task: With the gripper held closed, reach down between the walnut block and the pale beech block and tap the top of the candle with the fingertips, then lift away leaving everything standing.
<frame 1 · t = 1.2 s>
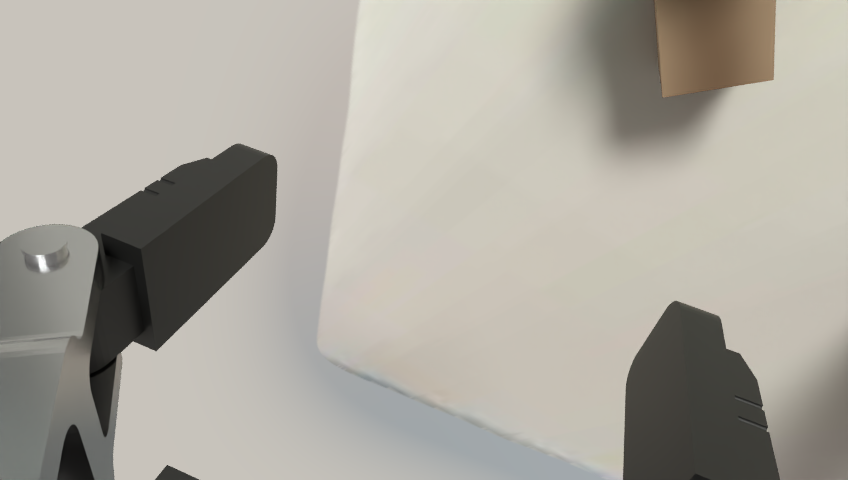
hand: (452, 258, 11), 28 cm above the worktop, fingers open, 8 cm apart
walnut block: (702, 14, 31), on the worktop
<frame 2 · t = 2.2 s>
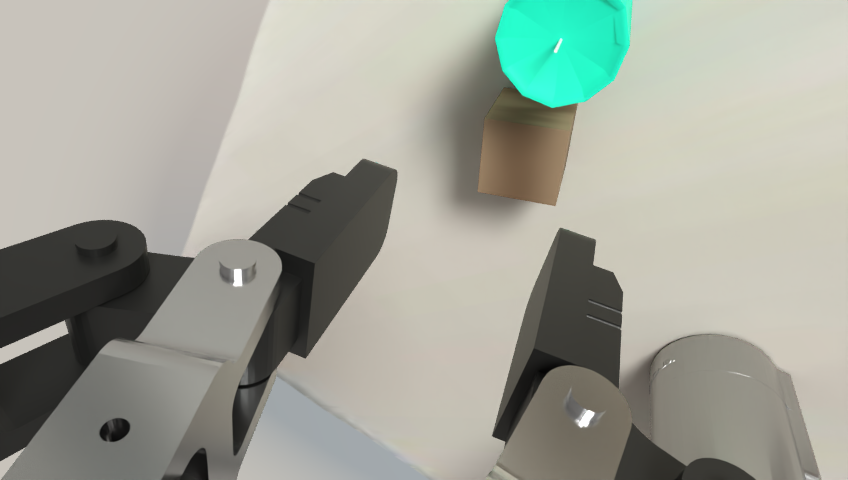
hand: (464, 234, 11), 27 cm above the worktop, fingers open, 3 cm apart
candle: (580, 0, 33), on the worktop
walnut block: (535, 127, 38), on the worktop
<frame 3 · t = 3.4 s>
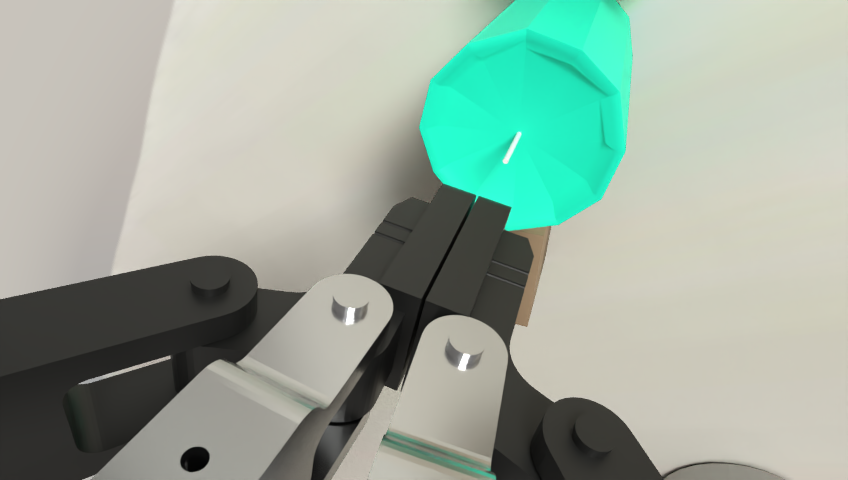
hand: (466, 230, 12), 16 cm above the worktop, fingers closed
candle: (561, 49, 24), on the worktop
walnut block: (505, 207, 29), on the worktop
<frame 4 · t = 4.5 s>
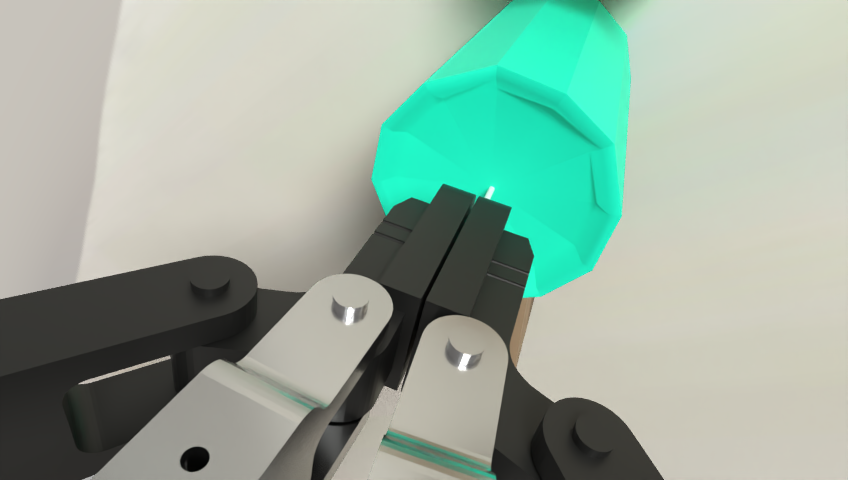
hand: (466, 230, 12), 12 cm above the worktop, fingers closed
candle: (549, 70, 21), on the worktop, touching gripper
walnut block: (490, 242, 26), on the worktop
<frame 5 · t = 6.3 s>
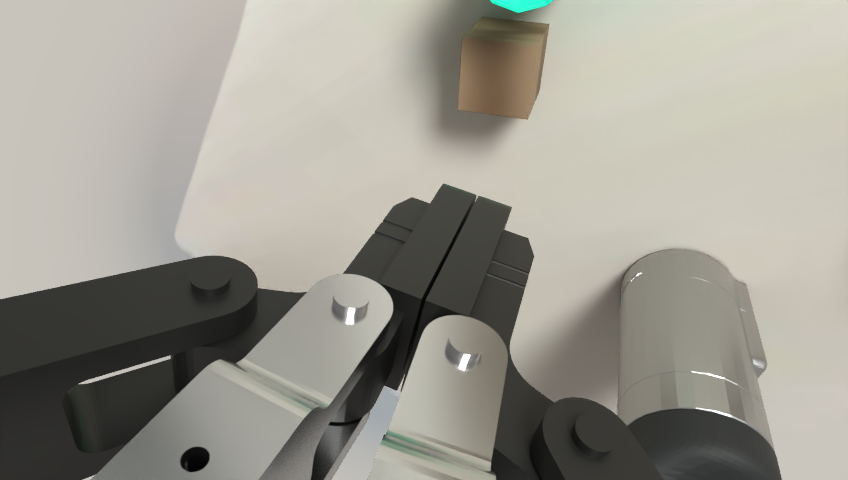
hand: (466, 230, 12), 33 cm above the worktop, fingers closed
walnut block: (511, 54, 42), on the worktop
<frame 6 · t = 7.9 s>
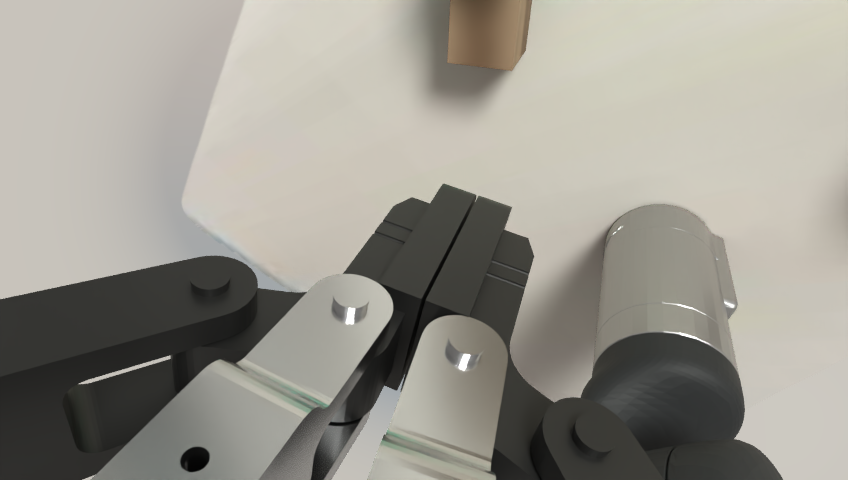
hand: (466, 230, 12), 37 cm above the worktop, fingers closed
walnut block: (499, 15, 44), on the worktop
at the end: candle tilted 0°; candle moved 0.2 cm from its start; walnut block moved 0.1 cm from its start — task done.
